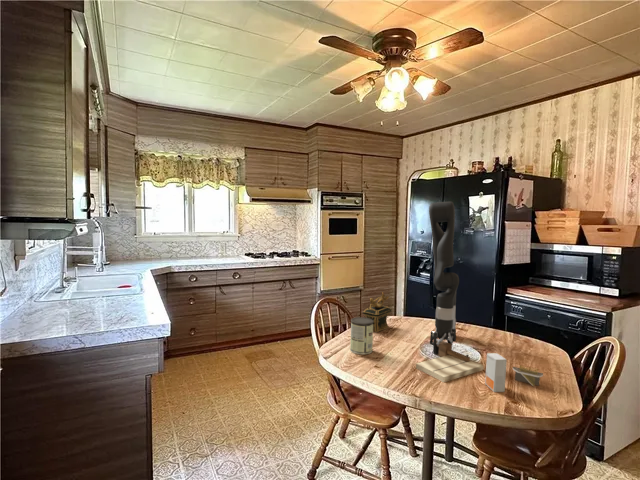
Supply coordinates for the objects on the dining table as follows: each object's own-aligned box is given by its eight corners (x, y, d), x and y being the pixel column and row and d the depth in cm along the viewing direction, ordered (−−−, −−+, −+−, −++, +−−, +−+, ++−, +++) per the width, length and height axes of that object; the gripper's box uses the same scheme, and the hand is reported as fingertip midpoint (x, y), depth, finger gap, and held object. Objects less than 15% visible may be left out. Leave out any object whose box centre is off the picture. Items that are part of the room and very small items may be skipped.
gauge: (438, 352, 163) (439, 339, 163) (471, 365, 149) (471, 352, 149) (432, 353, 161) (433, 341, 161) (464, 367, 147) (465, 353, 147)
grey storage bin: (555, 398, 124) (556, 380, 124) (498, 383, 134) (499, 366, 134) (555, 385, 134) (556, 368, 134) (501, 372, 144) (502, 357, 144)
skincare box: (484, 384, 132) (486, 353, 132) (495, 384, 133) (497, 352, 132) (493, 392, 126) (495, 359, 125) (505, 392, 127) (507, 359, 126)
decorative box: (377, 333, 187) (378, 297, 186) (361, 329, 193) (362, 294, 192) (394, 325, 203) (396, 291, 202) (379, 322, 209) (381, 289, 208)
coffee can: (352, 345, 169) (353, 316, 169) (374, 348, 166) (375, 318, 165) (347, 352, 160) (348, 321, 159) (370, 356, 156) (371, 324, 156)
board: (454, 357, 157) (454, 353, 157) (483, 369, 145) (483, 364, 145) (415, 368, 145) (416, 363, 145) (443, 382, 133) (444, 376, 133)
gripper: (448, 313, 165) (446, 347, 166) (426, 316, 158) (424, 352, 159) (462, 317, 159) (460, 352, 159) (440, 321, 151) (438, 358, 152)
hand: (442, 352), depth 159 cm, fingers open, 8 cm apart
